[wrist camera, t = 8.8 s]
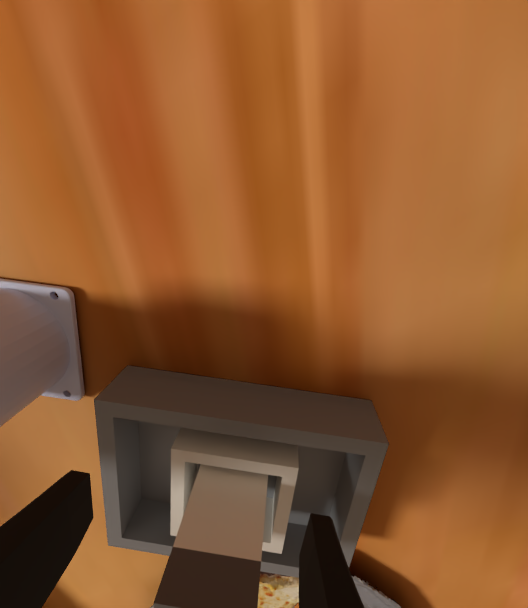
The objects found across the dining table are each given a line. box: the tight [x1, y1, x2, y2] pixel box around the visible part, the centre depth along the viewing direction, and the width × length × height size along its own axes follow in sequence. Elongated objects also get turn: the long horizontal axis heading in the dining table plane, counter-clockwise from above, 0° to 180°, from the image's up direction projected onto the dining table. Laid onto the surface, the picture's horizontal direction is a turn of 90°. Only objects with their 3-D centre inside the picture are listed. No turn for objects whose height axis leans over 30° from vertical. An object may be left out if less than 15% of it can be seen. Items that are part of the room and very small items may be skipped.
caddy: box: [94, 365, 389, 578], centre depth 20 cm, size 16×12×4 cm
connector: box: [154, 464, 268, 608], centre depth 16 cm, size 4×4×9 cm
